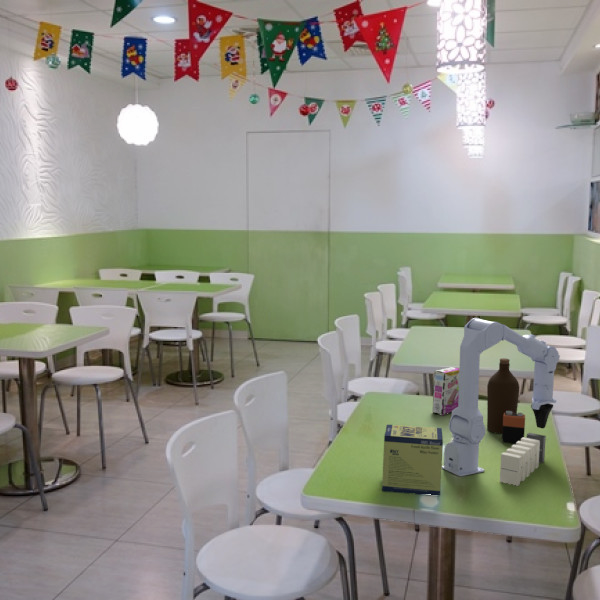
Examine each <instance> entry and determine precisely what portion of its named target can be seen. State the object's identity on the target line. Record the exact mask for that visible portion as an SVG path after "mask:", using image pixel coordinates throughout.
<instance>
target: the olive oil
mask: <svg viewBox="0 0 600 600" xmlns="http://www.w3.org/2000/svg"><path fill="white" fill-rule="evenodd" d="M510 363H511V362H510V359H509V358H500V359H499V363H498V365H499V367H498V368H499V369H498V370H497V371H496V372H495V373H494V374H493V375H492V376H491V377H489V379H488V382H487V384H486V385H487V389H486V390H487V393H486V397H487V398H486V399H487V400H486V401H487V403H486V405H487V408H486V409H487V419H486V421H487V422H486V426H487V427H486V429H487V430H488V431H489V432H491V433H494V434H501V435H502V432H503V415H504V413H506V411H512V413H516V414H518V406H519V405H518V404H519V398H520V397H519V396H520V384H519V383H520V382H519V380H518V379H517V378H516V376H515V375H514V374H513V373H512V372H511V370H510Z"/></svg>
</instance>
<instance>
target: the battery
mask: <svg viewBox="0 0 600 600" xmlns="http://www.w3.org/2000/svg"><path fill="white" fill-rule="evenodd" d="M525 426H526V414H524V413H523V412H517V414H516V413H512V411H506V413H504V415H503V432H502V434H501V442H502V443H507V444H513V443H514V444H513V445H516V442H517V441H521V438H523V437H524V438H525V430H526V427H525Z"/></svg>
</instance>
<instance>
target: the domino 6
mask: <svg viewBox="0 0 600 600" xmlns="http://www.w3.org/2000/svg"><path fill="white" fill-rule="evenodd" d="M526 438H530V439H535V440H540V449H539V464H543V463H544V462H545V457H546V456H545V454H546V453H545V451H546V440H547V439H546V435H545V434H544V435H543V434H538V433H533V432H527V434H526Z"/></svg>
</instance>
